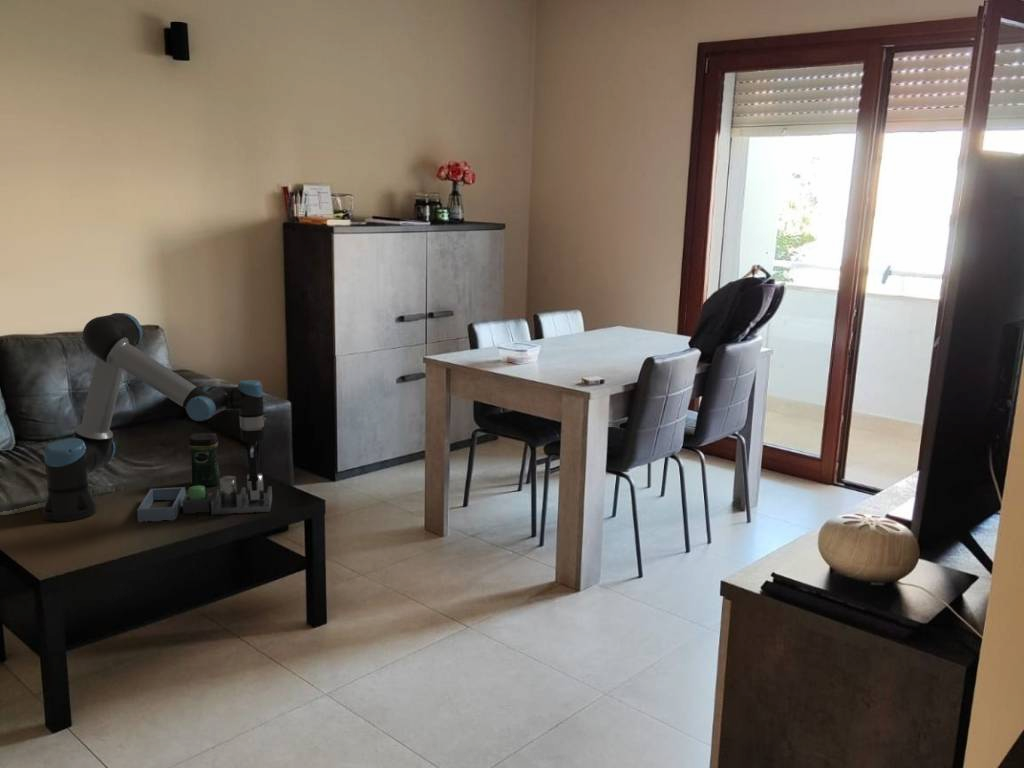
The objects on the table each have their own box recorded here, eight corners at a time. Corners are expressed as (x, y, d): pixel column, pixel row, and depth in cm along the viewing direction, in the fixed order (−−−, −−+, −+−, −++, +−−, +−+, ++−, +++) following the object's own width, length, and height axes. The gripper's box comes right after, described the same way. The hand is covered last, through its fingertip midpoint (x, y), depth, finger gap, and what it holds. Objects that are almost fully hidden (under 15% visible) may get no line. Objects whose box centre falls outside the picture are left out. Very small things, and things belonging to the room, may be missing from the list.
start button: (188, 508, 284) (187, 490, 283) (190, 503, 289) (189, 485, 288) (204, 507, 285) (203, 489, 284) (206, 502, 290) (205, 485, 289)
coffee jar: (222, 480, 318) (220, 430, 315) (216, 487, 311) (214, 436, 307) (195, 481, 318) (192, 430, 314) (188, 487, 310) (185, 436, 306)
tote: (137, 522, 274) (137, 510, 274) (151, 500, 296) (150, 488, 295) (175, 520, 277) (174, 507, 276) (185, 498, 298) (185, 487, 297)
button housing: (183, 513, 283) (182, 501, 282) (186, 505, 290) (186, 494, 290) (209, 512, 284) (208, 500, 284) (212, 504, 292) (211, 492, 291)
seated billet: (220, 504, 286) (218, 480, 285) (221, 499, 291) (220, 476, 289) (236, 503, 287) (234, 479, 286) (237, 498, 292) (236, 475, 290)
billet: (247, 501, 288) (246, 477, 286) (248, 496, 292) (247, 473, 291) (263, 500, 289) (262, 476, 287) (264, 495, 293) (263, 472, 292)
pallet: (211, 515, 282) (210, 501, 281) (216, 501, 295) (215, 488, 294) (269, 511, 285) (269, 498, 284) (272, 498, 299) (271, 485, 298)
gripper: (262, 434, 278) (265, 504, 283) (266, 421, 296) (269, 488, 300) (237, 435, 277) (241, 506, 281) (242, 422, 294) (246, 489, 298)
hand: (255, 496), depth 290 cm, fingers closed on billet, 5 cm apart
